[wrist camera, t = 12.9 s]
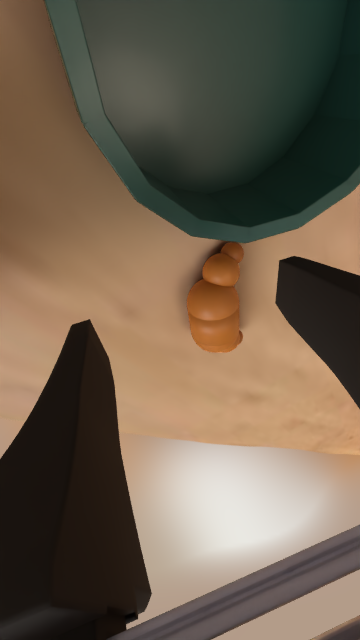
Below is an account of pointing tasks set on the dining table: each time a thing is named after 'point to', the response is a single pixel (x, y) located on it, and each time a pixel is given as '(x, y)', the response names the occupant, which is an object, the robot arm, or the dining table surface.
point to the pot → (220, 105)
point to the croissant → (217, 302)
